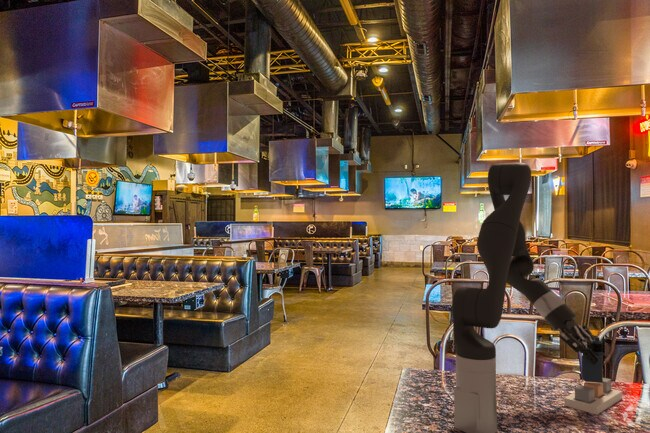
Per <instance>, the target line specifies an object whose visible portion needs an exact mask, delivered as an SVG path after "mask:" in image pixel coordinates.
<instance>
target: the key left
mask: <svg viewBox="0 0 650 433" xmlns="http://www.w3.org/2000/svg"><path fill="white" fill-rule="evenodd" d="M574 392H575V399H579V400H583V401H586V402H591V401H592V400H594V399H595V398H594V388H590V387H586V386H584V385H581V384H579V385H577V386H575V387H574Z"/></svg>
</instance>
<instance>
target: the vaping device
mask: <svg viewBox="0 0 650 433" xmlns="http://www.w3.org/2000/svg"><path fill="white" fill-rule="evenodd" d="M594 337H595V340H592V341H593V353H594V354H595V355H596V356H597V357H598V358H599V359H600V361H599V362H598V363H596V364H594V365H593V364H592V363H591V362H590V361H589V360H588V359H587V358H586V357H585V355H584V354H583V353H582V355H581V378H582V380H583V381H584V382H603V378H604V377H603V372H604V371H603V364H604V360H603V353H604V352H603V340H600V339H601V338H600V337H598V336H594Z"/></svg>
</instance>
